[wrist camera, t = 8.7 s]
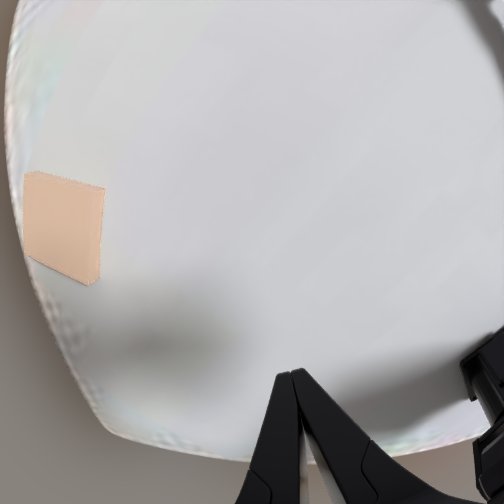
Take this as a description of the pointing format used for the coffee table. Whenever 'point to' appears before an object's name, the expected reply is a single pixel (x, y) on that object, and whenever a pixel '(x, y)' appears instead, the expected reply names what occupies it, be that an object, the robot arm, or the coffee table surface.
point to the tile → (63, 224)
